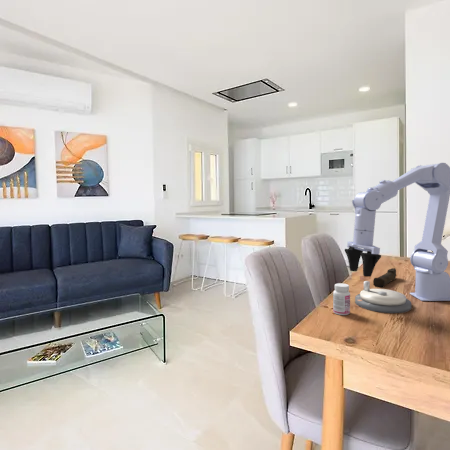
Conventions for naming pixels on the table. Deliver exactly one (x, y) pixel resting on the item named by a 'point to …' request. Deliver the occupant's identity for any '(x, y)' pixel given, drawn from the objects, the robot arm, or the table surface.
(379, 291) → the dial
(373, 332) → the table surface
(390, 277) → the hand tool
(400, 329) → the table surface
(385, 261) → the table surface
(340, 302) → the pill bottle
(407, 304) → the dial base
